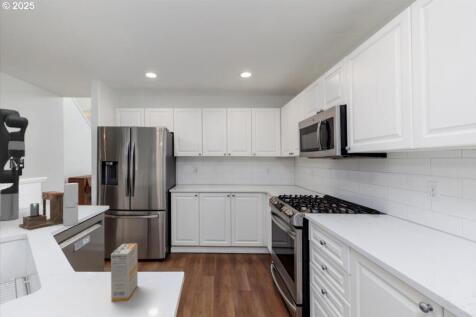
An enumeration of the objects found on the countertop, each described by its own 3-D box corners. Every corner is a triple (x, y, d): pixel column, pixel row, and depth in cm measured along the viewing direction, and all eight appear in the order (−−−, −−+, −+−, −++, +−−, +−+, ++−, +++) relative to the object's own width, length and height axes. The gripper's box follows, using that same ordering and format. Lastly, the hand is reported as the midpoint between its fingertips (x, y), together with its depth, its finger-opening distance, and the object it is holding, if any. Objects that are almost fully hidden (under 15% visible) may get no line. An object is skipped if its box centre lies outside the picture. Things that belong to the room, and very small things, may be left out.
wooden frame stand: (18, 226, 143) (18, 194, 143) (53, 220, 158) (53, 191, 159) (29, 230, 136) (30, 196, 136) (64, 223, 151) (64, 192, 151)
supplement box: (121, 286, 74) (121, 243, 74) (138, 285, 74) (138, 242, 75) (109, 301, 66) (109, 253, 66) (128, 301, 66) (128, 253, 66)
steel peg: (28, 224, 143) (29, 204, 143) (37, 222, 147) (37, 202, 147) (31, 225, 141) (32, 204, 141) (40, 223, 145) (40, 203, 145)
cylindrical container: (80, 223, 151) (80, 183, 152) (71, 226, 144) (72, 184, 144) (70, 222, 152) (70, 183, 152) (60, 225, 145) (61, 184, 145)
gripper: (4, 149, 148) (4, 175, 148) (13, 148, 141) (13, 176, 141) (19, 149, 155) (19, 175, 154) (29, 149, 147) (29, 175, 147)
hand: (16, 175), depth 148 cm, fingers open, 8 cm apart
